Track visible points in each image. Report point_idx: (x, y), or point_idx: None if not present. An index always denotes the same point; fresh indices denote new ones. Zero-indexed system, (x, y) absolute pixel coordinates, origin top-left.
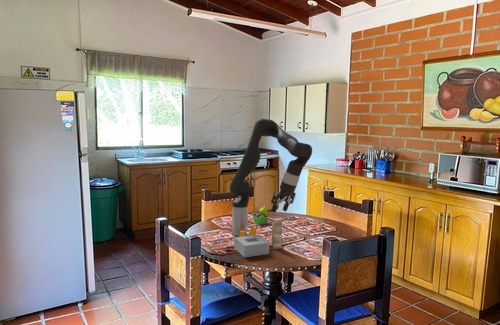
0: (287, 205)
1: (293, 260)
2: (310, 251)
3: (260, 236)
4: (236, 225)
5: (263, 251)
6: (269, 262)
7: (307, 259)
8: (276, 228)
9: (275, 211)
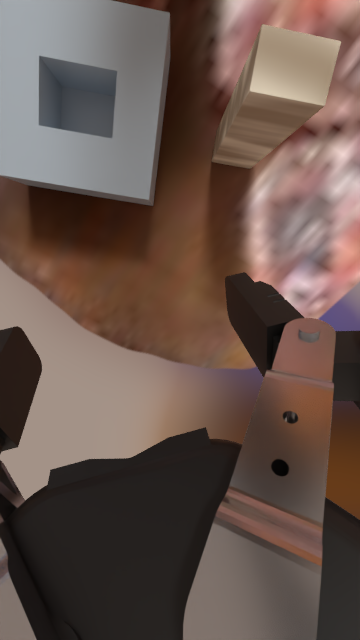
0: (262, 372)
1: (198, 315)
2: (327, 273)
3: (163, 62)
4: None
5: (121, 199)
6: (103, 286)
7: None
8: (245, 125)
9: (35, 378)
